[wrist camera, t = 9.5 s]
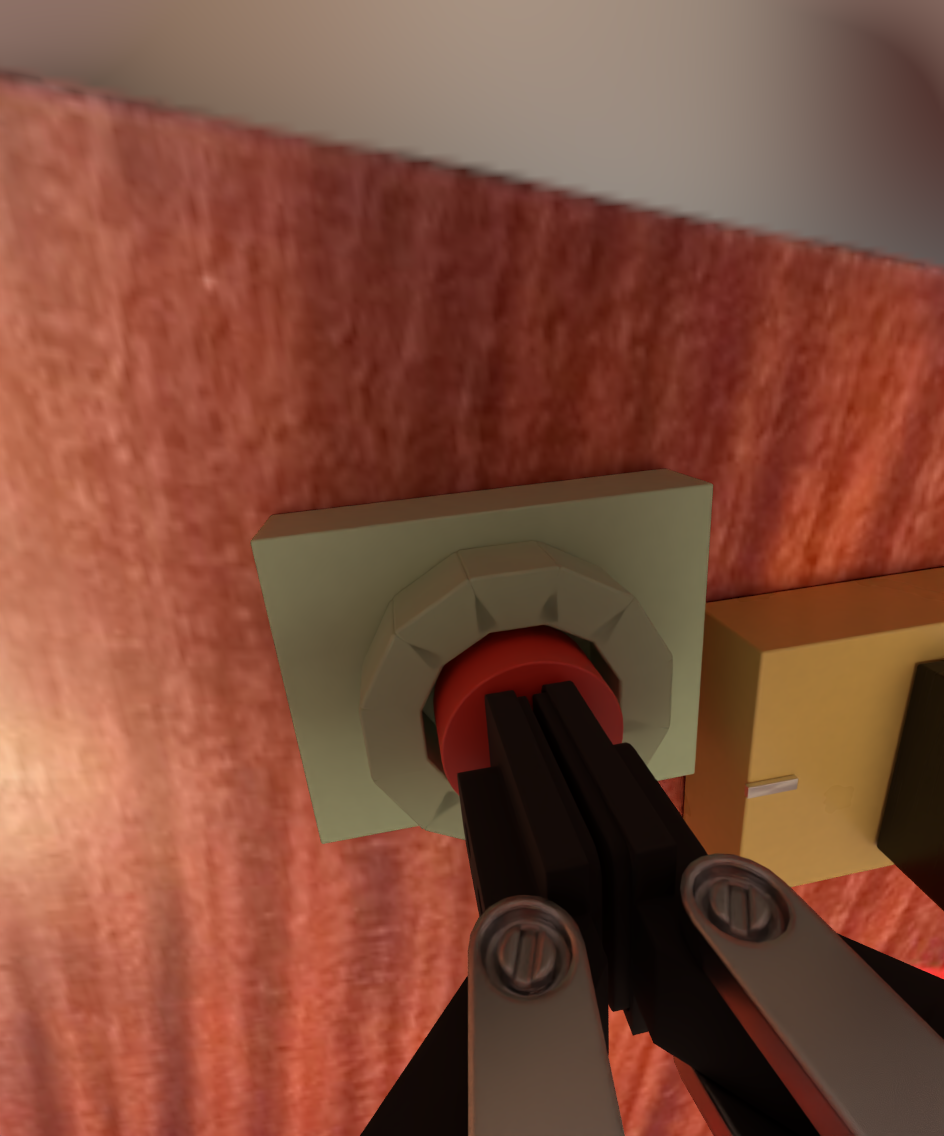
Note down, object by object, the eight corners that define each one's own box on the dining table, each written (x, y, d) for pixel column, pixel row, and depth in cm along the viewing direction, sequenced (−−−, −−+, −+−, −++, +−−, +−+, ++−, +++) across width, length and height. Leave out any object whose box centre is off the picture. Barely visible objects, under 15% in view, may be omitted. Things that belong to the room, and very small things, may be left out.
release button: (591, 610, 12) (625, 647, 10) (593, 748, 13) (623, 802, 11) (423, 634, 11) (431, 678, 10) (442, 776, 12) (451, 835, 11)
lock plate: (1001, 557, 17) (1133, 595, 14) (947, 768, 20) (1047, 837, 17) (691, 604, 16) (763, 656, 13) (679, 821, 18) (735, 906, 15)
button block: (666, 467, 14) (768, 499, 10) (657, 726, 17) (735, 825, 13) (270, 514, 13) (225, 569, 9) (328, 784, 16) (312, 910, 12)
